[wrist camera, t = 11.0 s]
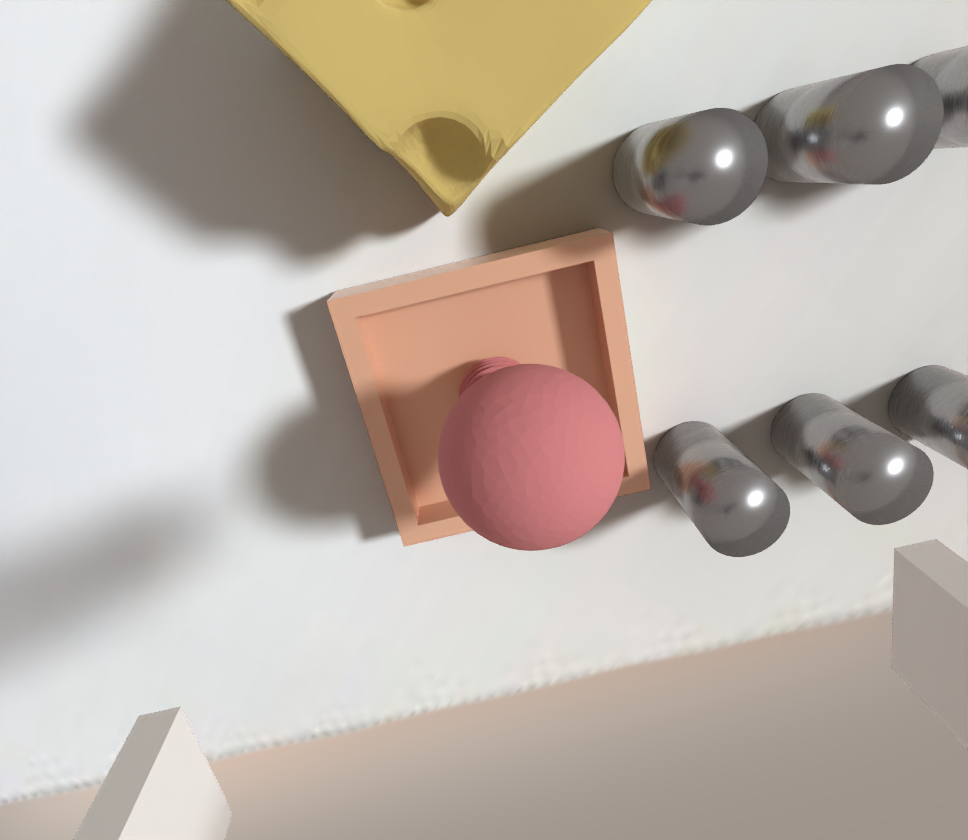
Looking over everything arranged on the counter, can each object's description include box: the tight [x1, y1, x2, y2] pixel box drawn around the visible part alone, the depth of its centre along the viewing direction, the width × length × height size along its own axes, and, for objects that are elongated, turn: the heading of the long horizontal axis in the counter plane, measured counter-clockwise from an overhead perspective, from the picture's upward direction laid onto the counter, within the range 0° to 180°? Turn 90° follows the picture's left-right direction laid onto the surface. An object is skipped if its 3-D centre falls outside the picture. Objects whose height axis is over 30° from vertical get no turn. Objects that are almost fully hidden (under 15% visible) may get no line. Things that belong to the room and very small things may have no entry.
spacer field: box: [613, 46, 968, 557], centre depth 30 cm, size 17×19×7 cm
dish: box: [327, 228, 651, 546], centre depth 33 cm, size 13×13×3 cm
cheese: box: [226, 0, 652, 216], centre depth 23 cm, size 10×11×10 cm
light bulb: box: [438, 356, 625, 551], centre depth 28 cm, size 7×7×12 cm
